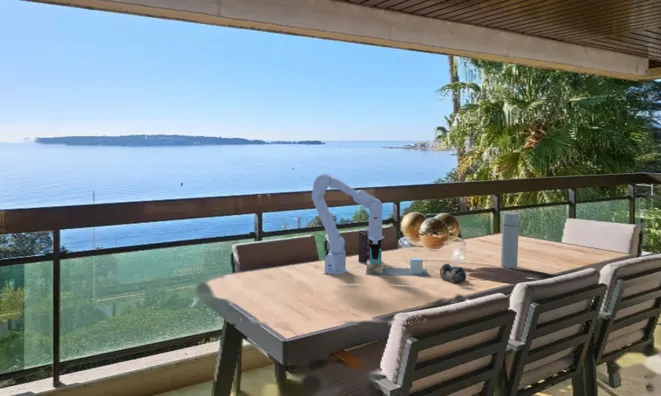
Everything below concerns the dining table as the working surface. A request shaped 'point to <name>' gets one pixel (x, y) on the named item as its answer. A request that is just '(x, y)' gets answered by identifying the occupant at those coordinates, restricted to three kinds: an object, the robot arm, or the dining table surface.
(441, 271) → the black rounded lump
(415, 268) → the light grey block
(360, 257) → the supplement box
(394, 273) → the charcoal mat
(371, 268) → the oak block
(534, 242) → the dining table surface
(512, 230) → the water bottle
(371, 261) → the teal block
